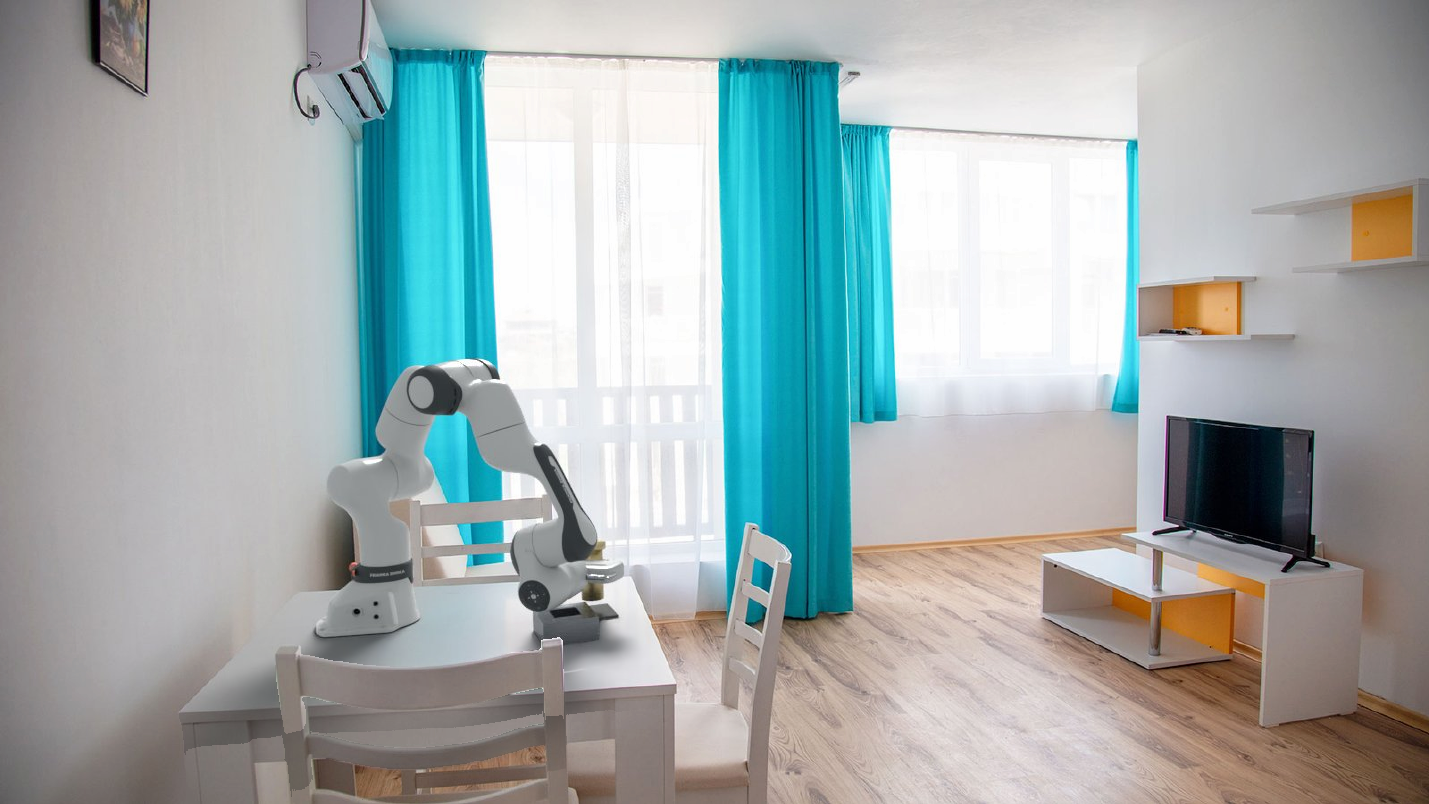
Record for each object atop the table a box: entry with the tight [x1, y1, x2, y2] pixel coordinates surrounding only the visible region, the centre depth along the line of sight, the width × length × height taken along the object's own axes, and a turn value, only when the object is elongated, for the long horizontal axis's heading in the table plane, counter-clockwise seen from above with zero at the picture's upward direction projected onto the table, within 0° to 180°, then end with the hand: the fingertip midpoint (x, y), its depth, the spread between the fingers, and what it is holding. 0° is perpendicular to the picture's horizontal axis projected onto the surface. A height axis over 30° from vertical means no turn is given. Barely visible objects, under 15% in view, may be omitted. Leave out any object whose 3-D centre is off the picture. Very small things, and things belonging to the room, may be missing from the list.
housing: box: [532, 601, 600, 645], centre depth 186 cm, size 12×12×5 cm
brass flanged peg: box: [580, 539, 607, 602], centre depth 199 cm, size 7×7×13 cm
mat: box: [589, 602, 620, 621], centre depth 200 cm, size 10×10×1 cm
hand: (593, 561), depth 200 cm, fingers closed on brass flanged peg, 5 cm apart
